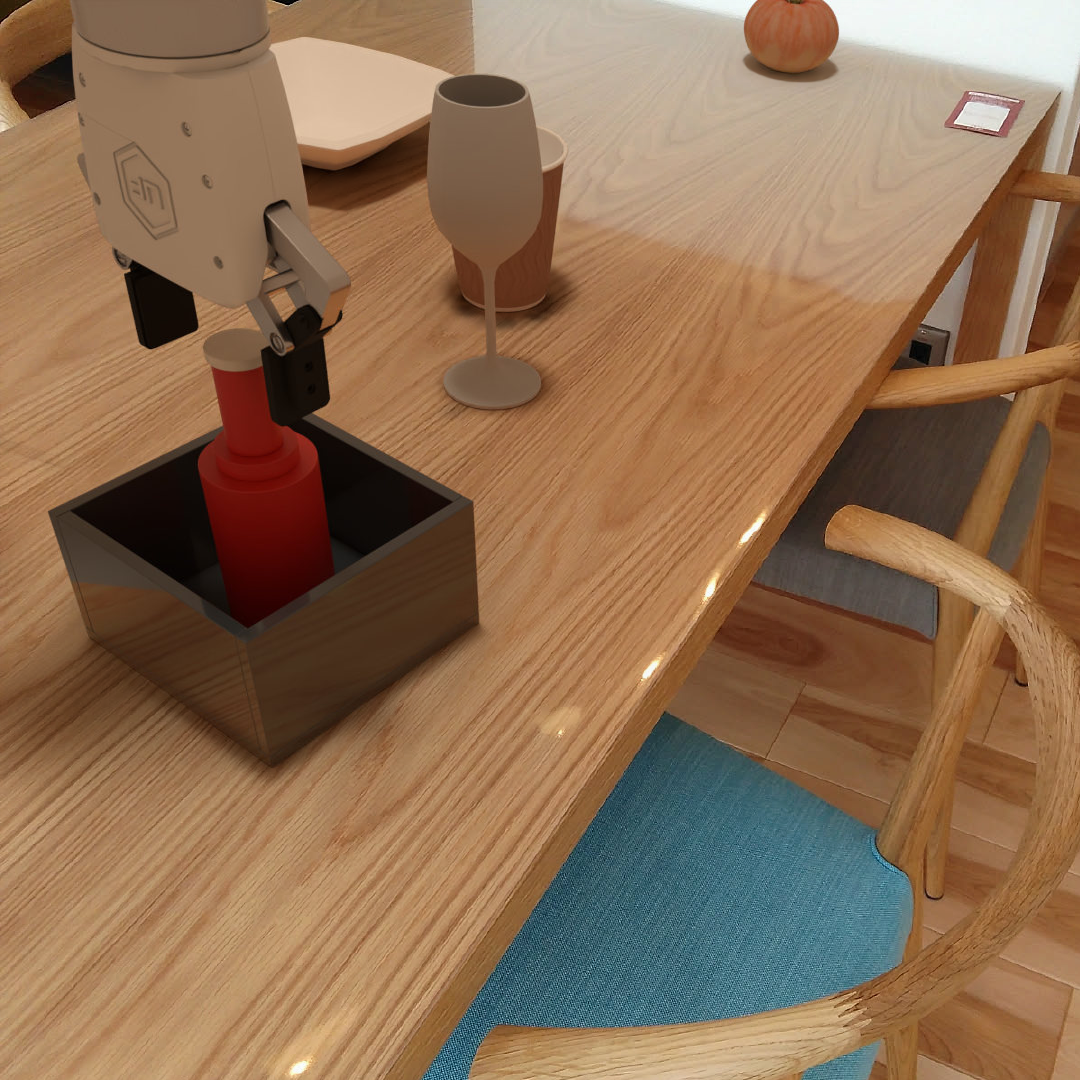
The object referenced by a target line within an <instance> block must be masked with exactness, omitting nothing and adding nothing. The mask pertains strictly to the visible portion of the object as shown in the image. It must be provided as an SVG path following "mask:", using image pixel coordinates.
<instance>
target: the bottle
mask: <svg viewBox="0 0 1080 1080" xmlns="http://www.w3.org/2000/svg"><path fill="white" fill-rule="evenodd" d="M267 346H269V343H268V341H267V340H266V338H265V336H264V334H263V333H262V331H261V330H257V329H253V328H247V327H245V328H243V327H241V328H240V327H239V328H238V327H237V328H236V327H235V328H229V329H224V330H220V331H218V332H214V333H213V334H211V335H210V336H208V337H207V338H206V339H205V341H204V342H203V344H202V350H203V356H204V359H205V361H206V363H207V364H208V365H210V369H211V374H212V378H213V383H214V389H215V393H216V398H217V402H218V403H217V404H218V408H219V412H220V413H219V414H220V417H221V418H220V419H221V423H222V425H223V428H224V430H223V431H221V432H220V433H219V434H218V435H217V436H216V438H215V439H214V441H213V442H211V443H210V444H209V445H208V446H206V447H205V449H204V450H203V451H202V453H201V454H200V457H199V459H198V469H199V474H200V478H201V483H202V487H203V492H204V496H205V501H206V505H207V510H208V514H209V519H210V523H211V528H212V532H213V537H214V541H215V546H216V550H217V555H218V559H219V564H220V568H221V573H222V577H223V582H224V586H225V590H226V595H227V599H228V604H229V608H230V613H231V617H232V618H233V619H234V620H236V621H237V622H239V623H241V624H242V625H244V626H245V627H247V629H248V628H249V627H251V626H253V625H254V624H256V623H258V622H259V621H261V620H262V619H264V618H266V617H267V616H269V615H271V614H272V613H274V612H275V611H277V610H279V609H280V608H282V607H284V606H285V605H287V604H288V603H290V602H292V601H293V600H295V599H297V598H298V597H300V596H301V595H303V594H305V593H306V592H308V591H310V590H311V589H313V588H314V587H316V586H318V585H319V584H321V583H323V582H324V581H326V580H327V579H329V578H331V577H332V576H334V575H335V569H334V562H333V555H332V549H331V542H330V535H329V528H328V521H327V514H326V507H325V501H324V494H323V487H322V480H321V473H320V466H319V459H318V453H317V450H316V448H315V446H314V445H313V443H312V442H311V441H310V440H309V439H307V438H306V437H304V436H303V435H301V434H299V433H296V432H294V431H293V430H292V429H291V428H289V427H288V426H284V427H281V426H280V425H278V424H276V423H274V422H273V421H272V420H271V416H270V411H269V404H268V398H267V391H266V385H265V378H264V371H263V365H262V358H261V349H263V348H265V347H267Z"/></svg>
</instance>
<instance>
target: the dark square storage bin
mask: <svg viewBox="0 0 1080 1080" xmlns="http://www.w3.org/2000/svg"><path fill="white" fill-rule="evenodd" d="M287 426H288V427H289V428H291V429H292V430H293V431H294V432H296V433H299V434H301V435H303V436H304V437H306V438H307V439H309V440H310V441H311V442H312V443H313V445H314V446H315V448H316V450H317V453H318V459H319V466H320V473H321V480H322V487H323V494H324V501H325V507H326V514H327V521H328V528H329V535H330V542H331V549H332V555H333V562H334V569H335V575H334V576H332V577H331V578H329V579H327V580H326V581H324V582H323V583H321V584H319V585H318V586H316V587H314V588H313V589H311V590H310V591H308V592H306V593H305V594H303V595H301V596H300V597H298V598H297V599H295V600H293V601H292V602H290V603H288V604H287V605H285V606H284V607H282V608H280V609H279V610H277V611H275V612H274V613H272V614H271V615H269V616H267V617H266V618H264V619H262V620H261V621H259V622H258V623H256V624H254V625H253V626H251V627H249V628H248V629H247V627H245V626H244V625H242V624H241V623H239V622H237V621H236V620H234V619H233V618H232V617H231V613H230V608H229V604H228V599H227V595H226V590H225V586H224V582H223V577H222V573H221V568H220V564H219V559H218V555H217V550H216V546H215V541H214V537H213V532H212V528H211V523H210V519H209V514H208V510H207V505H206V501H205V496H204V492H203V487H202V483H201V478H200V474H199V469H198V459H199V457H200V454H201V453H202V451H203V450H204V449H205V447H206V446H208V445H209V444H210V443H211V442H213V441H214V439H215V438H216V436H217V435H218V434H219V433H220V432H221V431H223V430H224V428H223V424H222V425H220V426H218V427H216V428H214V429H212V430H210V431H208V432H206V433H204V434H201V435H200V436H198V437H196V438H194V439H191V440H190V441H187V442H186V443H183V444H182V445H180V446H178V447H175V448H172V449H171V450H169V451H167V452H165V453H163V454H161V455H159V456H157V457H155V458H153V459H151V460H148V461H147V462H145V463H143V464H141V465H139V466H136V467H134V468H132V469H130V470H128V471H126V472H125V473H122V474H120V475H118V476H117V477H114V478H112V479H110V480H107V481H106V482H104V483H102V484H100V485H98V486H96V487H94V488H92V489H89V490H88V491H86V492H84V493H82V494H80V495H77V496H75V497H74V498H73V497H72V498H71V499H70V500H68V501H65V502H63V503H60V504H59V505H56V506H55V507H53V508H51V509H49V510H48V511H47V513H48V517H49V521H50V523H51V526H52V529H53V532H54V535H55V538H56V542H57V544H58V547H59V550H60V554H61V556H62V560H63V562H64V566H65V568H66V573H67V575H68V578H69V581H70V583H71V587H72V590H73V593H74V597H75V600H76V602H77V605H78V608H79V611H80V615H81V617H82V621H83V623H84V627H85V631H86V633H87V636H88V637H89V638H90V639H92V640H93V641H94V642H96V643H97V644H98V645H99V646H101V647H102V648H104V649H105V650H107V651H108V652H110V653H111V654H113V655H114V656H115V657H116V658H118V659H119V660H121V661H122V662H124V663H125V664H127V665H128V666H130V667H131V668H132V669H134V670H135V671H137V672H138V673H139V674H141V675H142V676H144V677H145V678H146V679H147V680H149V681H151V682H152V683H153V684H155V685H156V686H158V687H159V688H160V689H162V690H163V691H164V692H166V693H167V694H168V695H170V696H171V697H173V698H174V699H175V700H177V701H178V702H179V703H181V704H183V706H185V707H186V708H188V709H190V710H191V711H192V712H194V713H195V714H196V715H198V716H199V717H201V718H202V719H203V720H205V721H206V722H207V723H209V724H211V725H212V726H213V727H215V728H216V729H218V730H219V731H220V732H222V733H223V734H225V735H226V736H227V737H228V738H230V739H231V740H233V741H234V742H236V743H237V744H239V745H240V746H241V747H242V748H244V749H246V750H247V751H248V752H250V753H251V754H253V755H254V756H255V757H257V758H258V759H260V760H261V761H262V762H264V763H265V764H267V766H269V767H271V768H275V767H276V766H278V765H279V764H280V763H282V762H283V761H284V760H286V759H287V758H289V757H290V756H291V755H293V754H294V753H296V752H297V751H298V750H300V749H301V748H303V747H305V746H306V745H307V744H308V743H310V742H312V741H313V740H314V739H316V738H317V737H318V736H320V735H322V734H323V733H324V732H325V731H327V730H328V729H329V728H331V727H332V726H335V725H336V724H337V723H338V722H340V721H341V720H342V719H344V718H345V717H347V716H348V715H350V714H351V713H352V712H354V711H356V709H359V708H360V707H361V706H363V705H364V704H365V703H366V702H368V701H370V700H371V699H373V698H374V697H375V696H376V695H379V693H381V692H382V691H384V690H385V689H387V688H388V687H389V686H391V685H392V684H394V683H395V682H396V681H397V680H398V681H399V679H401V678H402V677H403V676H405V675H406V674H408V673H409V672H410V671H412V670H413V669H415V668H416V667H418V666H420V664H422V663H423V662H425V661H426V660H427V659H429V658H431V656H433V655H434V654H436V653H438V652H439V651H441V649H443V648H444V647H446V646H447V645H449V644H451V642H453V641H454V640H456V639H458V637H460V636H462V635H463V634H464V633H466V632H468V631H469V630H470V629H471V628H473V627H474V626H476V625H477V624H479V623H480V606H479V604H480V603H479V587H478V566H477V565H478V564H477V546H476V544H477V543H476V524H475V504H474V500H472V499H470V498H468V497H467V496H464V495H463V494H461V493H459V492H457V491H455V490H454V489H452V488H450V487H448V486H446V485H445V484H442V483H441V482H439V481H437V480H435V479H434V478H431V477H430V476H428V475H426V474H424V473H422V472H420V471H419V470H417V469H415V468H414V467H412V466H410V465H408V464H406V463H404V462H403V461H401V460H399V459H397V458H395V457H394V456H391V454H390V455H389V454H388V453H386V452H384V451H382V450H381V449H379V448H377V447H375V446H373V445H371V444H370V443H368V442H366V441H364V440H362V439H361V438H359V437H357V436H355V435H353V434H352V433H350V432H348V431H346V430H345V429H343V428H340V427H338V426H337V425H335V424H334V423H332V422H330V421H327V420H326V419H324V418H322V417H320V416H319V415H317V414H316V413H314V412H313V413H311V414H309V415H307V416H305V417H303V418H301V419H299V420H297V421H295V422H293V423H291V424H289V425H287Z"/></svg>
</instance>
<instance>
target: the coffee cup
mask: <svg viewBox="0 0 1080 1080" xmlns="http://www.w3.org/2000/svg"><path fill="white" fill-rule="evenodd" d="M536 128H537V134H538V141H539V149H540V157H541V165H542V175H543V202H542V211H541V218H540V220H539V223H538V225H537V228H536V230H535V232H534V234H533V235H532V236H531V238H530V239H529V240H528V241H527V242H526V244H525V245H524V246H523V247H522V248H521V249H520V250H519V251H517V252H516V253H515V254H514V255H512V256H511V257H510V258H509V259H507V260H506V261H504V262H503V263H502V264H500V265H499V267H498V269H497V270H496V274H495V281H494V290H495V312H497V313H498V312H500V313H511V312H512V313H513V312H514V313H515V312H521V311H525V310H528V309H531V308H533V307H535V306H537V305H538V304H540V303H541V302H542V301H543V300H544V299H545V297H546V294H547V291H548V285H549V283H550V279H551V278H550V277H551V270H552V261H553V254H554V245H555V237H556V231H557V223H558V213H559V205H560V197H561V189H562V181H563V173H564V165H565V163H564V162H565V161H566V160H567V157H568V156H569V148H568V144H567V142H566V140H564V138H563V137H561V136H560V135H559V134H557V133H556V132H554V131H552V130H550V129H548V128H546V127H543V126H539V125H537V124H536ZM451 250H452V255H453V262H454V267H455V272H456V278H457V282H458V284H459V287H460V291H461V294H462V296H463V298H464V299H465V300H466V301H467V302H469V303H470V304H472V305H473V306H475V307H477V308H479V309H483V310H485V298H484V281H483V276H482V271H481V270H480V268H479V266H478V265H477V264H476V263H474V262H473V261H471V260H470V259H468V258H467V257H466V256H464V255H463V254H462V253H460V252H459V251H458V250H457V249H455V248H454V247H453V246H452V245H451Z"/></svg>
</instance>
